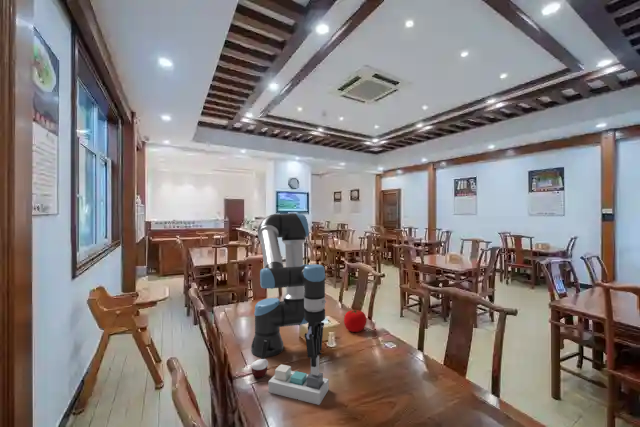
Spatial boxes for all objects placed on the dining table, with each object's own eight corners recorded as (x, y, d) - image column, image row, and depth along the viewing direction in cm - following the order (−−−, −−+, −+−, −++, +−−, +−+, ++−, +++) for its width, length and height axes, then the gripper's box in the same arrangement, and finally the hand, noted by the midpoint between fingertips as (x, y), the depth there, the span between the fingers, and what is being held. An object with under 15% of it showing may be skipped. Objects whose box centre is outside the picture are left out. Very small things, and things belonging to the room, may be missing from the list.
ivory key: (275, 380, 112) (274, 369, 112) (280, 374, 117) (280, 364, 117) (285, 383, 111) (285, 372, 111) (291, 376, 115) (290, 366, 115)
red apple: (341, 333, 162) (340, 312, 162) (348, 324, 175) (348, 305, 174) (362, 336, 158) (362, 315, 158) (368, 327, 170) (368, 307, 170)
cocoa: (255, 383, 116) (255, 352, 116) (246, 377, 121) (245, 347, 120) (274, 372, 124) (274, 343, 123) (264, 367, 128) (264, 339, 128)
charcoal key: (306, 388, 108) (306, 377, 108) (311, 381, 112) (311, 370, 112) (318, 390, 106) (318, 379, 106) (322, 383, 110) (322, 373, 110)
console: (268, 392, 111) (268, 381, 111) (281, 378, 119) (280, 368, 119) (319, 405, 103) (319, 393, 103) (328, 389, 112) (328, 378, 112)
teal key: (290, 388, 110) (290, 377, 110) (296, 381, 114) (295, 371, 114) (301, 390, 109) (301, 379, 108) (306, 383, 113) (306, 373, 113)
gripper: (317, 315, 101) (317, 385, 101) (330, 304, 113) (330, 366, 113) (297, 313, 104) (297, 381, 104) (312, 302, 116) (312, 363, 116)
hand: (315, 373), depth 109 cm, fingers closed
